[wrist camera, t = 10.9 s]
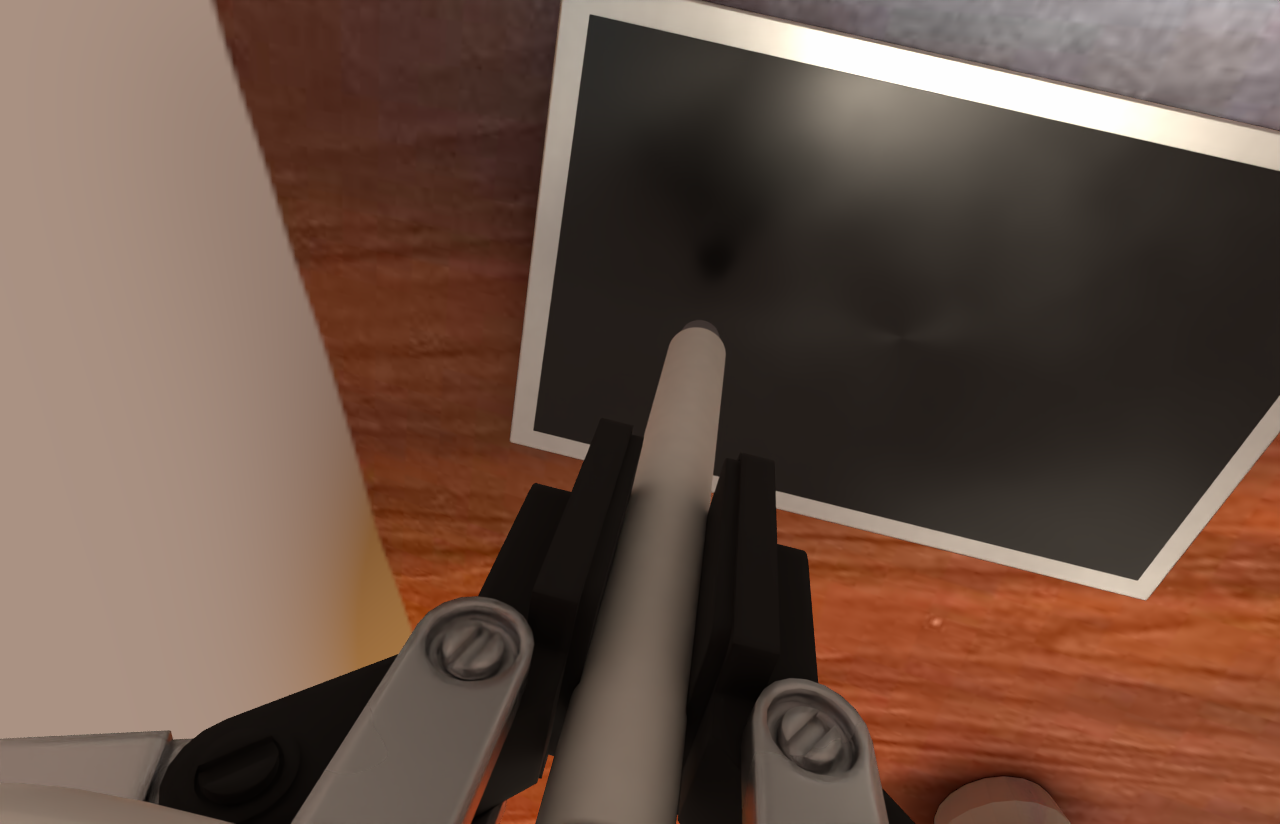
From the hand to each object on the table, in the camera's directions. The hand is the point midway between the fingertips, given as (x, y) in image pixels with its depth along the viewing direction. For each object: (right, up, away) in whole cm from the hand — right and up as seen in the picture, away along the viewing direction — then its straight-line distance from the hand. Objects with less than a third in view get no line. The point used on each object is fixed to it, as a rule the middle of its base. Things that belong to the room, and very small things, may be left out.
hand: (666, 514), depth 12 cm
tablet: (+7, +4, +9) cm, 13 cm away
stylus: (+1, +4, +7) cm, 8 cm away
